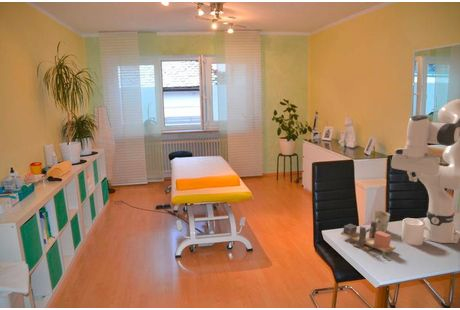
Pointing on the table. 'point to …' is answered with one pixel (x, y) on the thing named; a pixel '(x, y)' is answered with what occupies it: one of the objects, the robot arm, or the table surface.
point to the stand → (361, 242)
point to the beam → (351, 233)
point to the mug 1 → (381, 220)
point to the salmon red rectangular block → (382, 239)
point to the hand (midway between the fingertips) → (413, 181)
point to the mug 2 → (414, 231)
